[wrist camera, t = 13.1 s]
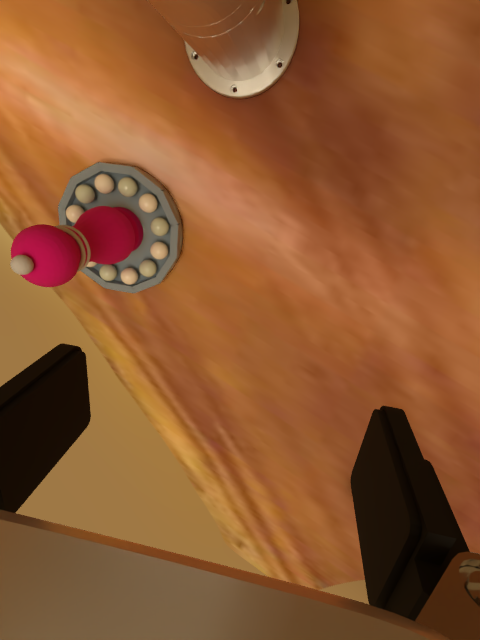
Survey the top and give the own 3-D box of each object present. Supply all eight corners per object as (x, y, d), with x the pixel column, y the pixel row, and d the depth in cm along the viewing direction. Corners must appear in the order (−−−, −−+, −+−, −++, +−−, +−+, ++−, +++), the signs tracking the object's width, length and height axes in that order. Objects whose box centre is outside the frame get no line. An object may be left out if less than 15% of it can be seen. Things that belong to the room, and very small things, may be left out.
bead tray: (64, 156, 47) (46, 155, 43) (186, 172, 45) (177, 173, 42) (75, 276, 54) (60, 283, 51) (180, 295, 52) (172, 303, 49)
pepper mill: (138, 264, 50) (46, 319, 32) (93, 242, 50) (-27, 284, 32) (153, 217, 47) (60, 248, 29) (105, 193, 47) (-20, 209, 29)
